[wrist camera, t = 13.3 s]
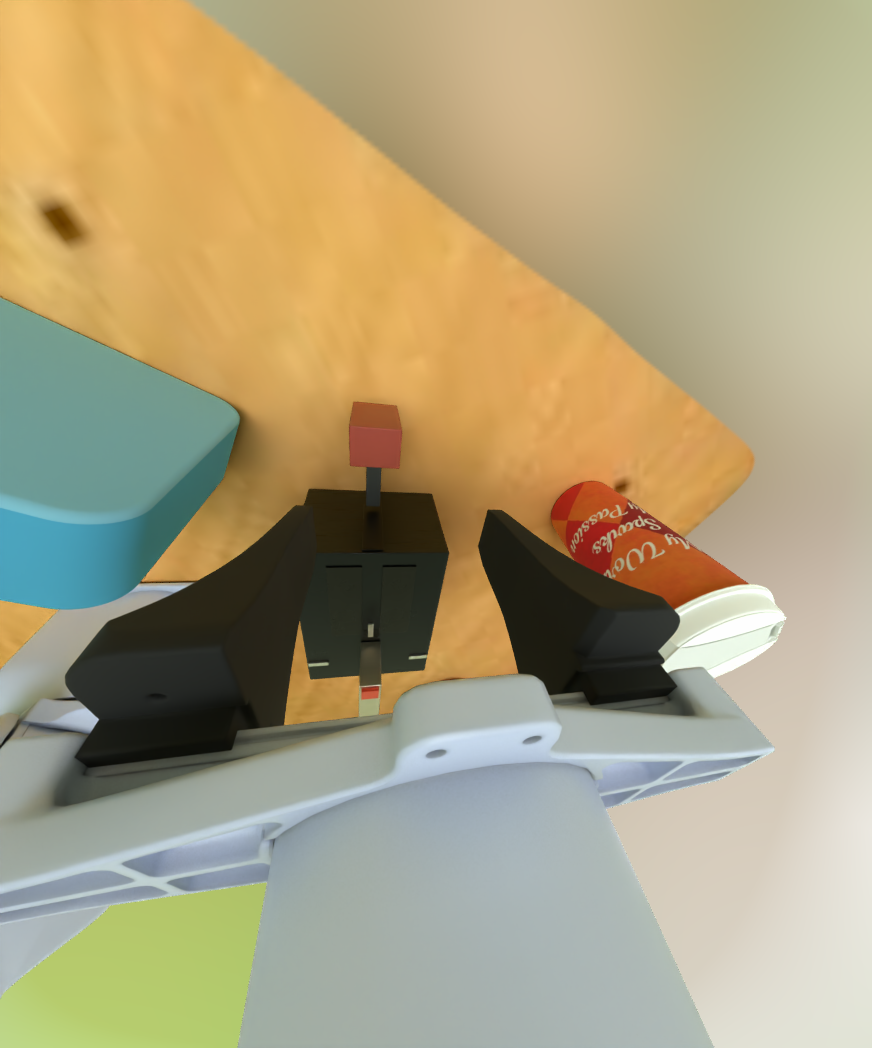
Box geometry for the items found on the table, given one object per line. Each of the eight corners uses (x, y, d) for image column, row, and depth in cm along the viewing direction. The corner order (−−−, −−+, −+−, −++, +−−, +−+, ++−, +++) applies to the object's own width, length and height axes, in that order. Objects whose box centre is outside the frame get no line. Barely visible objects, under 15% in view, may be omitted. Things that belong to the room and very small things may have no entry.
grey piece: (377, 675, 25) (378, 721, 23) (360, 676, 25) (358, 723, 22) (380, 641, 23) (381, 688, 20) (360, 642, 22) (358, 690, 20)
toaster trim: (338, 577, 26) (331, 636, 21) (334, 500, 21) (324, 553, 17) (401, 576, 27) (407, 631, 22) (409, 502, 23) (418, 553, 18)
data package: (-37, 369, 16) (-679, 491, 6) (-51, 271, 14) (-1034, 224, 4) (231, 470, 21) (110, 622, 11) (249, 410, 19) (121, 531, 9)
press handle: (354, 502, 21) (351, 540, 18) (353, 401, 17) (349, 425, 14) (390, 503, 21) (393, 540, 18) (397, 405, 18) (402, 430, 15)
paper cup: (618, 452, 25) (817, 582, 14) (626, 518, 29) (782, 656, 18) (527, 498, 26) (641, 651, 15) (549, 554, 31) (649, 705, 19)
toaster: (323, 621, 31) (312, 695, 25) (308, 488, 22) (286, 555, 17) (413, 617, 33) (421, 685, 27) (432, 493, 24) (450, 554, 19)
